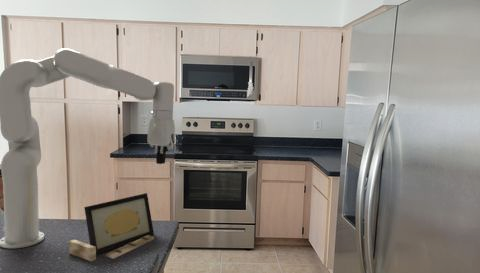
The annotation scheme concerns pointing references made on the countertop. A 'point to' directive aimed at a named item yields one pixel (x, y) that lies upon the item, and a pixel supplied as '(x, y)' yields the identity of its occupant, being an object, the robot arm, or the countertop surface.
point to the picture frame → (118, 222)
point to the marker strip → (129, 247)
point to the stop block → (82, 250)
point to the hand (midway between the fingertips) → (160, 163)
